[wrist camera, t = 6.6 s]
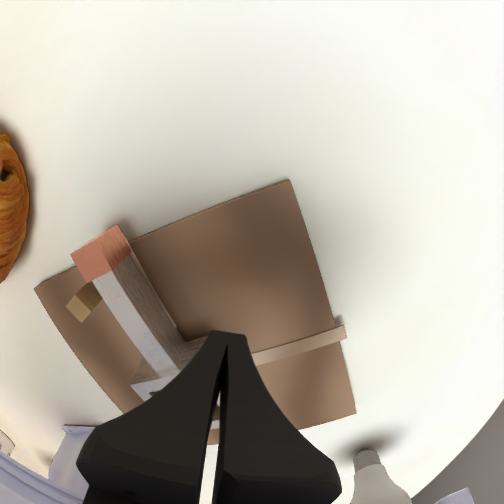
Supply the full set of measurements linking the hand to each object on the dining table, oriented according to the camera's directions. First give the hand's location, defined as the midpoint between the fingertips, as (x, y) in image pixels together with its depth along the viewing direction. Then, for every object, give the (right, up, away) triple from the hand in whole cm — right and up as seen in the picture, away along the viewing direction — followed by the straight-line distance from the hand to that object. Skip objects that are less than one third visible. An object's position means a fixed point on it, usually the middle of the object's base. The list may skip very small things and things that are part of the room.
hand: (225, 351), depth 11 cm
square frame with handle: (-4, 0, +5) cm, 6 cm away
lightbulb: (+12, -16, +12) cm, 24 cm away
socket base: (-2, -3, +7) cm, 8 cm away
